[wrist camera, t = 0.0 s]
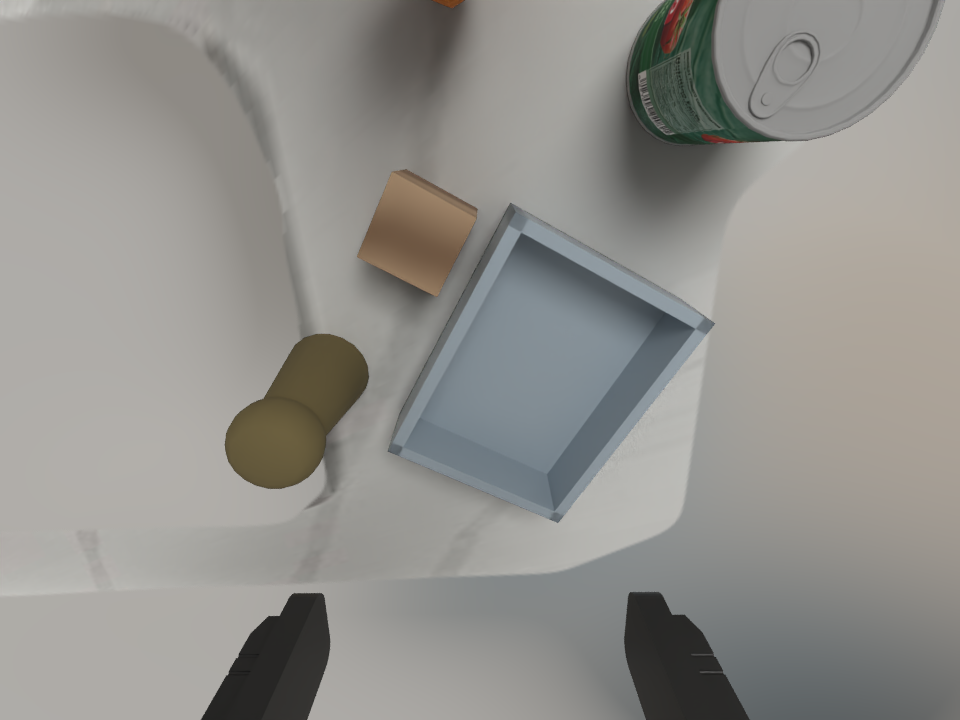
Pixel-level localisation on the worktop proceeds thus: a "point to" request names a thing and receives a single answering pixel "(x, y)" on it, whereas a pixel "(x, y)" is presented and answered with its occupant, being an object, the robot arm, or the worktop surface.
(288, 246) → the worktop surface
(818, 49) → the canned tomato
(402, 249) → the walnut cube
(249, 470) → the cork
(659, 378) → the tote
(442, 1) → the carrot
